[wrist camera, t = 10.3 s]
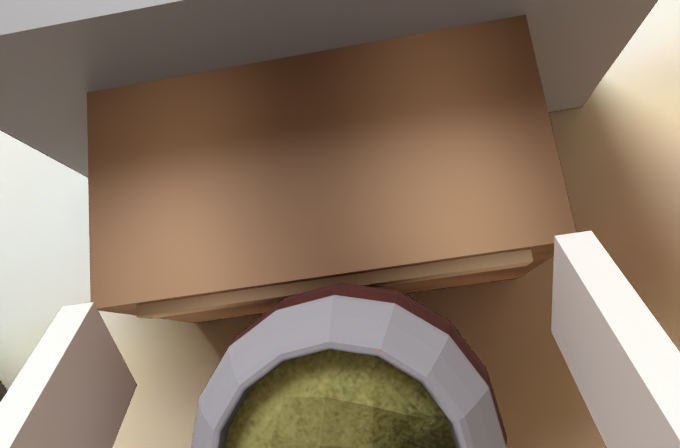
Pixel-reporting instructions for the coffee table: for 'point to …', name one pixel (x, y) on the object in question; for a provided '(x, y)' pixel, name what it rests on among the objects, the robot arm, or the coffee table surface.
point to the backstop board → (257, 47)
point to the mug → (2, 391)
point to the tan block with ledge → (325, 175)
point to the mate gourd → (349, 378)
